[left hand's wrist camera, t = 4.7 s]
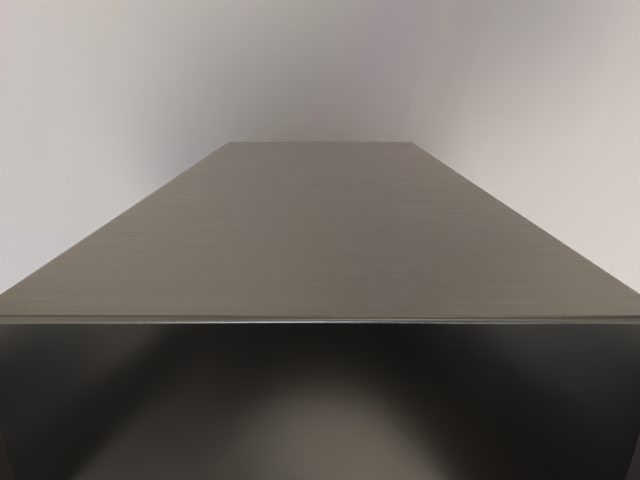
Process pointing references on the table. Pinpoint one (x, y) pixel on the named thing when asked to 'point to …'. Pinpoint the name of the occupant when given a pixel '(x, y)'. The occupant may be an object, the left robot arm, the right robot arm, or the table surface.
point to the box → (320, 333)
